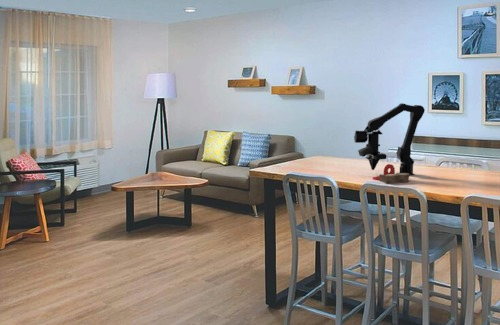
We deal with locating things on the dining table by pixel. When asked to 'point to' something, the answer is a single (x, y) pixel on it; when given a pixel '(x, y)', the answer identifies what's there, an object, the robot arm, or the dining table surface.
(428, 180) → the dining table surface
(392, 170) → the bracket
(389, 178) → the cradle
